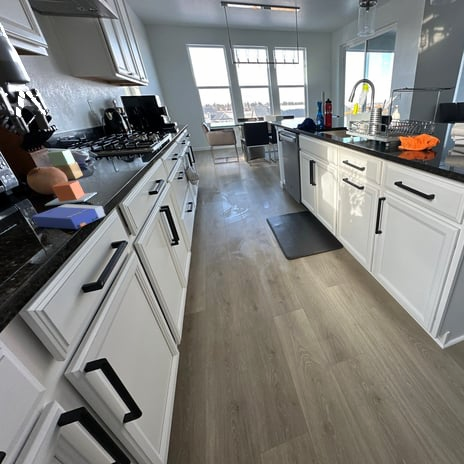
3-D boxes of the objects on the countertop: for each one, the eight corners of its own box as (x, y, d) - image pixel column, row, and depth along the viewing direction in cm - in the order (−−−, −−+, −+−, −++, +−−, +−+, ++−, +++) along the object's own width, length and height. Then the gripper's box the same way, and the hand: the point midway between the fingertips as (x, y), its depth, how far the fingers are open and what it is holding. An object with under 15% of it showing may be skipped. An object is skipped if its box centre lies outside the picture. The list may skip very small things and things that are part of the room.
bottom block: (59, 180, 99) (52, 166, 96) (67, 176, 104) (60, 163, 101) (75, 178, 100) (68, 164, 98) (83, 175, 105) (76, 161, 102)
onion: (52, 205, 82) (23, 183, 74) (40, 193, 86) (10, 171, 77) (81, 188, 87) (56, 165, 79) (68, 177, 90) (43, 154, 82)
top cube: (59, 201, 75) (51, 186, 73) (68, 196, 79) (60, 182, 77) (77, 199, 76) (69, 184, 74) (84, 194, 80) (78, 180, 78)
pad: (45, 205, 73) (44, 204, 73) (61, 197, 80) (61, 195, 80) (84, 201, 75) (83, 200, 75) (97, 193, 82) (96, 192, 82)
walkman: (37, 226, 60) (77, 229, 58) (31, 216, 59) (71, 218, 57) (71, 213, 67) (107, 215, 65) (65, 203, 66) (103, 205, 63)
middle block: (53, 166, 97) (46, 152, 94) (61, 163, 101) (54, 150, 99) (68, 164, 98) (61, 151, 95) (75, 162, 102) (69, 149, 100)
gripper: (4, 64, 67) (37, 129, 74) (-49, 55, 54) (-3, 135, 62) (37, 63, 68) (66, 128, 76) (-7, 55, 56) (33, 133, 64)
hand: (35, 131), depth 69 cm, fingers open, 8 cm apart
